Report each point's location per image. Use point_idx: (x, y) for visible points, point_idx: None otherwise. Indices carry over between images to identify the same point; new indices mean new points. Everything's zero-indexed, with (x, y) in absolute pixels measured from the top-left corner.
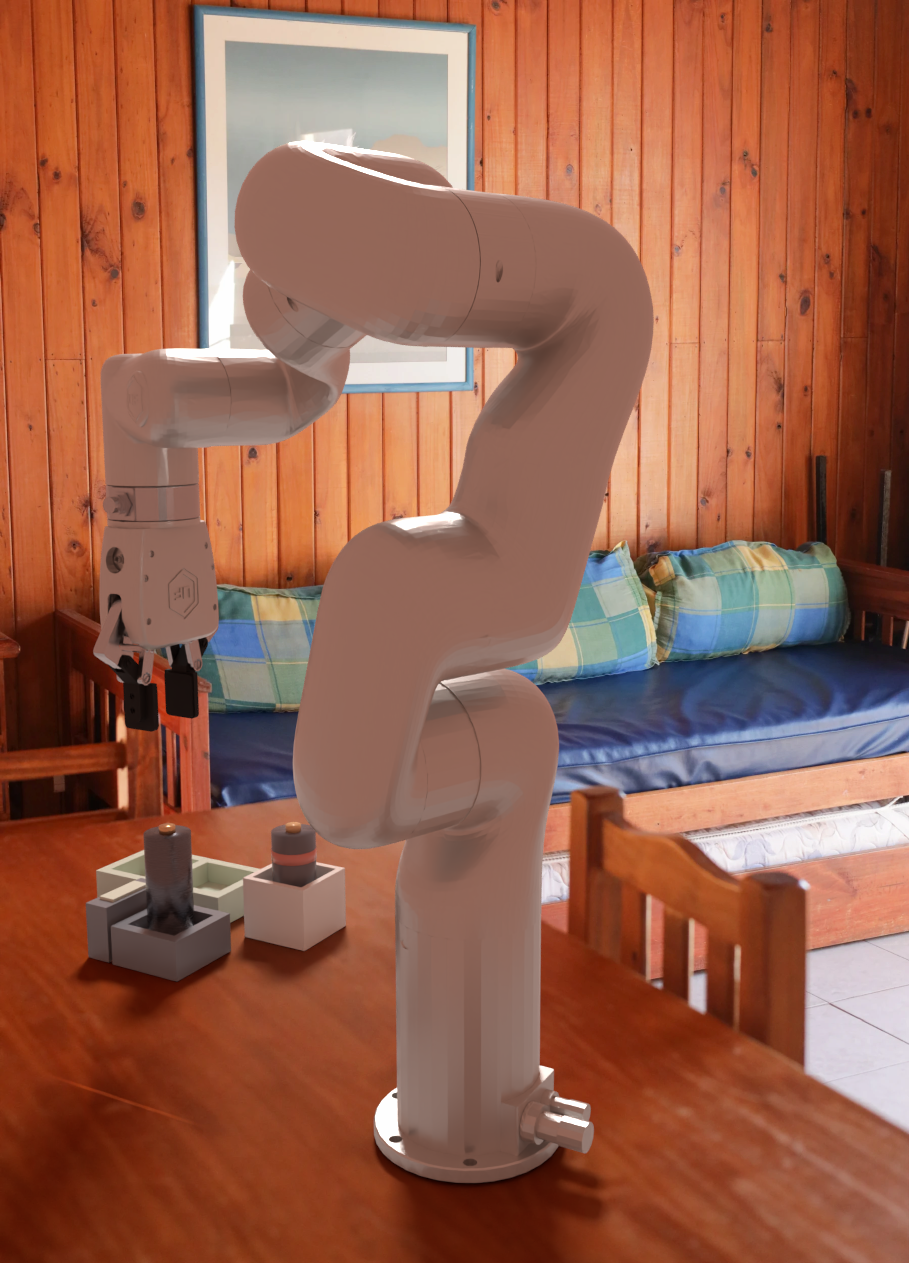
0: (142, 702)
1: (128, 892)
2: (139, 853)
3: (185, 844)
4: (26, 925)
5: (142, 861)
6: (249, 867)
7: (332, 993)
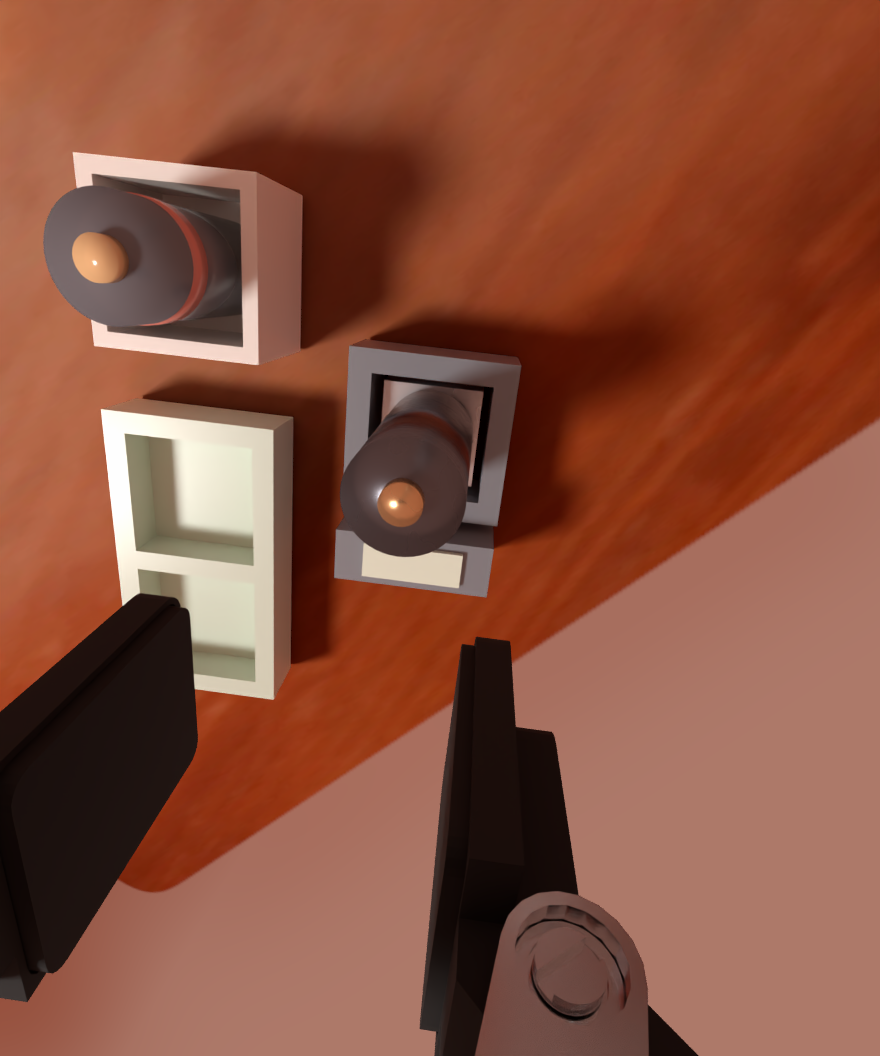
0: (541, 805)
1: None
2: None
3: (410, 432)
4: (414, 704)
5: None
6: (110, 460)
7: (441, 20)
